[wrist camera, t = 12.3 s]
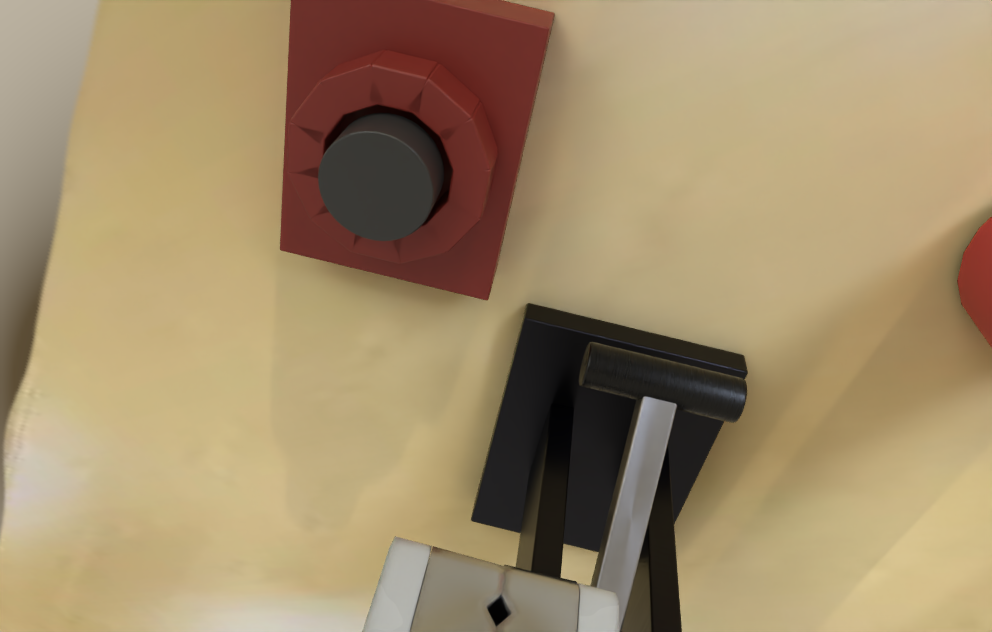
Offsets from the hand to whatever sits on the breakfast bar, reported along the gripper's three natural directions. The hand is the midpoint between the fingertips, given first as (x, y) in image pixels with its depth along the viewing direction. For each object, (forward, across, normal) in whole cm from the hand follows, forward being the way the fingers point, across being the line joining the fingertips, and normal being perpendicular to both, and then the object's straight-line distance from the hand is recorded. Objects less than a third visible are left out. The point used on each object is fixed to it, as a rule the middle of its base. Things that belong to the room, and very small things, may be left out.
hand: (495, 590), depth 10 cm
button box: (+20, +5, +2) cm, 21 cm away
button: (+16, +5, +2) cm, 17 cm away
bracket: (+20, -5, +14) cm, 25 cm away
